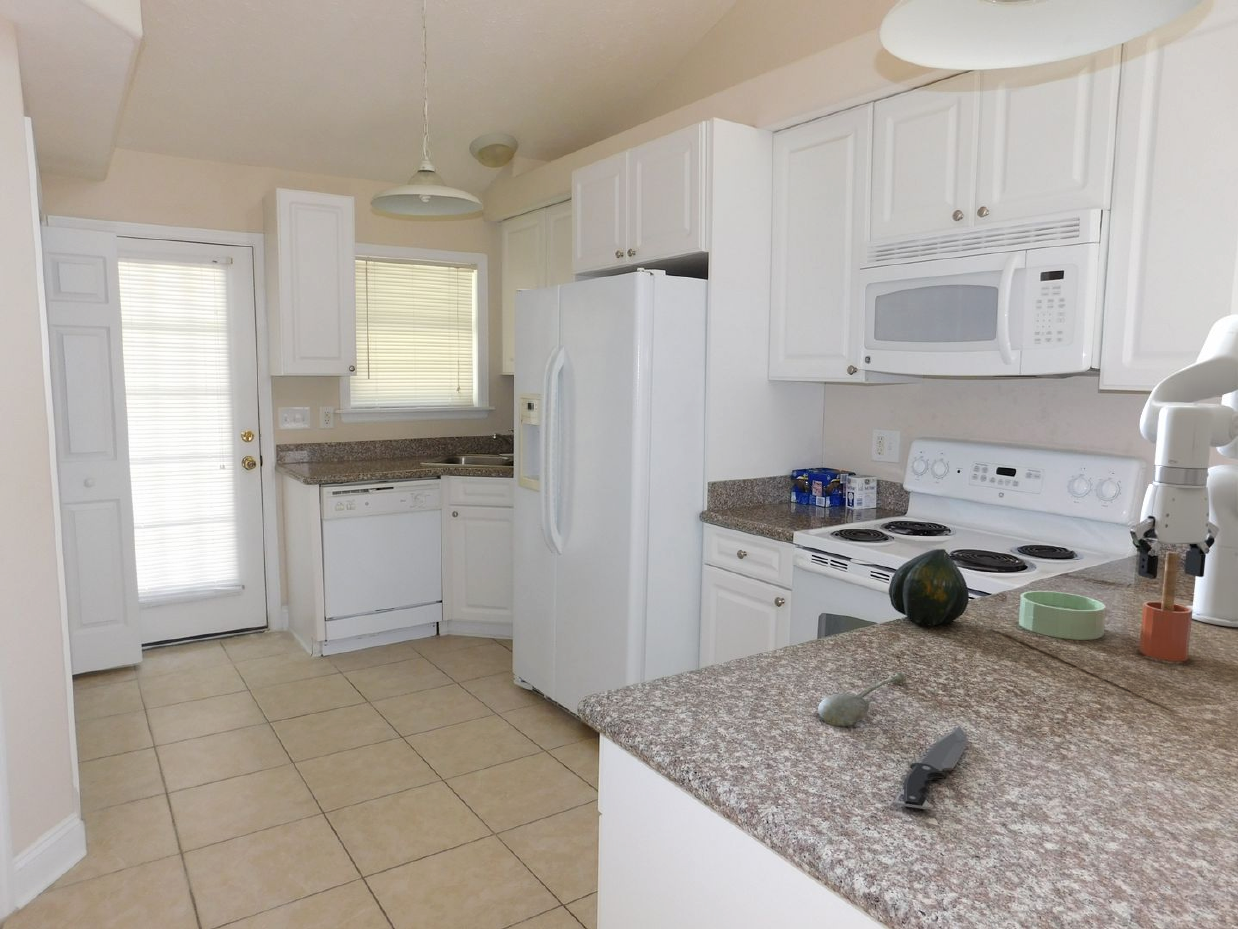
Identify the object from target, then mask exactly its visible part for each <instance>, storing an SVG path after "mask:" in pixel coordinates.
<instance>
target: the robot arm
mask: <svg viewBox="0 0 1238 929" xmlns="http://www.w3.org/2000/svg"><path fill="white" fill-rule="evenodd" d="M1220 396H1222V397H1221V403H1207V402H1206V403H1205V402H1204V403H1203V402H1199V401H1203V400H1204V401H1205V400H1208V399H1214V398H1217V397H1220ZM1139 431H1140V434H1141V436H1142V437H1143V438H1144V440H1146V441H1147V442H1150V443H1154V444H1156V445H1155V455H1154V467H1153V478H1152V483H1149V484H1148V486H1147V488H1146V492H1145V495H1144V499H1143V503H1142V507H1141V512H1140V517H1139V518H1140V519H1139V522H1138V523H1137V524H1136V525H1134V526H1132V527H1131V528H1129V534H1130V536H1131V540H1132V544H1133V546H1134V547H1135V548H1136V552H1137V553H1138V554H1139V557H1138V566H1137V567H1138V568H1137V569H1138V570H1137V574H1138V576H1140V577H1144V578H1146V579H1151V580H1156V579H1157V577H1158V569H1159V568H1158V567H1159V555H1156V554H1157V553H1158V551H1159V550H1160V549H1161V548H1162V547H1163V545H1169V546H1170V545H1186V546H1187V547H1188V549H1189V550H1186V552H1185V562H1184V573H1185V574H1187V575H1190V576H1194V577H1195V581H1194V590H1193V591H1194V592H1193V600H1192V601H1193V602H1192V605H1186V606H1185V607H1188V608H1190V609H1192V620H1195V621H1198V622H1201V623H1206V624H1210V625H1215V626H1222V627H1229V628H1238V464H1219V465H1214V466H1209V464H1210V454H1211V448H1215V449H1216V450H1217V452H1218V453H1219V455H1221V456H1223V457H1225V458H1229V459H1233V460H1238V313H1235V314H1230V315H1227V316H1225V317H1223V318H1220V319H1219V320H1217V321H1216V322H1214V324H1213V325H1212V326H1211V329H1210V331H1209V333H1208V335H1207V338H1206V340H1205V342H1204V344H1203V346H1202V348H1201V350H1200V352H1199V355H1198V357H1197V359H1196V361H1195V362H1194V363H1192V364H1190V365H1188V366H1185V367H1183V368H1182V369H1179V370H1178V371H1176V372H1174V373H1173V374H1171V375H1169V376H1167V377H1165V378H1164V379H1162V380H1161V381H1160V382H1159V383H1158V384H1156V385H1155V387H1154V388H1153V389H1152V391H1151V392H1150V395H1149V397H1148V399H1147V400H1146V403H1145V404H1144V407H1143V409H1142V412H1141V415H1140V419H1139ZM1150 545H1151V546H1150Z"/></svg>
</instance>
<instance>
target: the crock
mask: <svg viewBox="0 0 1238 929" xmlns="http://www.w3.org/2000/svg"><path fill="white" fill-rule="evenodd" d="M1142 604H1143V605H1142V615H1141V625H1140V636H1139V646H1138V650H1139V653H1141V654H1142V655H1145V656H1147V657H1150V658H1152V659H1157V660H1161V661H1169V662H1185V661H1187V660H1189V650H1190V640H1191V631H1192V621H1193V619H1192V609H1190V608H1188V607H1186V606H1185V605H1181V604H1177V603H1174V611H1173V612H1172V611H1165V610H1161V604H1162V601H1156V600H1155V601H1154V600H1153V601H1144V602H1143V603H1142Z"/></svg>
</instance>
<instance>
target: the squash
mask: <svg viewBox="0 0 1238 929" xmlns="http://www.w3.org/2000/svg"><path fill="white" fill-rule="evenodd" d="M888 596H889V599H890V605H891V606H892V607H893V609H894V610H895V611H897V612H898V613H899V614H902V615H904V616H906V618H907V619H908V621H909V622H910V623H912V624H913V625H915V626H920V625H923V624H924V623H925V624H926V625H928V626H937V625H939V624H941V623H944V624H947V623H952V622H954V621H955V620H957V619H958V618H960V617H961V616H962V615H963V614H964V613H965V611H966V609H967V607H968V604H969V600H970V594H969V588H968V586H967V582H966V579H965V577H964V575H963V574H962V571H961V570H960V568H958V566H957V565H956V563H955V562H954V560H953V559H952V558H951V556H950V554H949V553H948V552H947V551H946V549H945V548H937V549H931V550H929V551H926V552H924V553H921V554H919V555H918V556H915V557H914V558H911V559H910V560H908V561H906V562H904V563H903V564H902V565H901V566H899V567H898V568H896V570H895V571H894V573H893V575H892V577H891V580H890V583H889V587H888Z"/></svg>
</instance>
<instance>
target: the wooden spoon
mask: <svg viewBox="0 0 1238 929" xmlns="http://www.w3.org/2000/svg"><path fill="white" fill-rule="evenodd" d="M1179 557H1180V553H1179V552H1177V551H1169V550H1167V551H1166V553H1165V563H1164V573H1163V582H1162V583H1163V584H1162V594H1161V602H1162V604H1161V610H1165V611H1172V612H1173V611H1174V604H1175V599H1176V590H1177V578H1178V568H1179Z"/></svg>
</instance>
